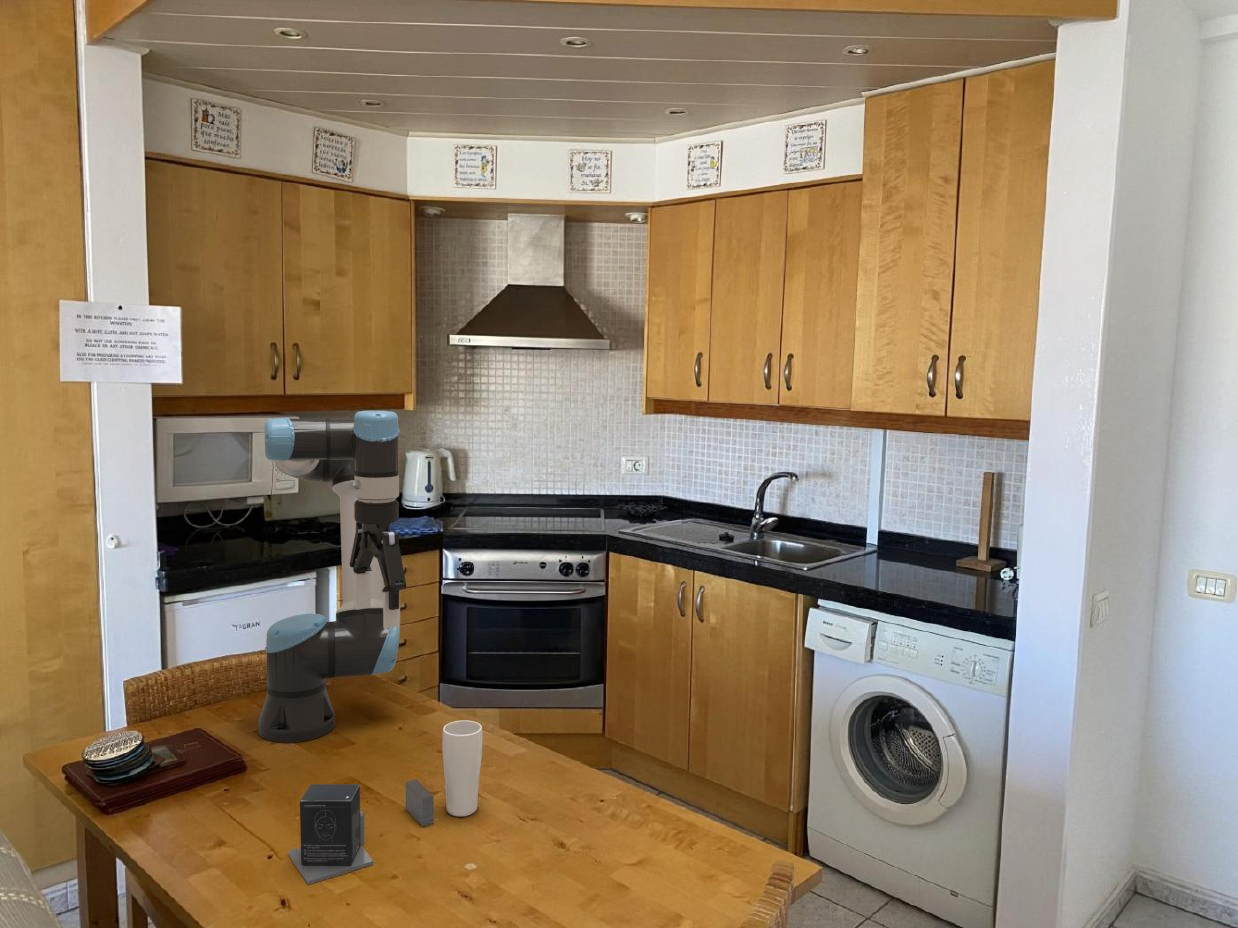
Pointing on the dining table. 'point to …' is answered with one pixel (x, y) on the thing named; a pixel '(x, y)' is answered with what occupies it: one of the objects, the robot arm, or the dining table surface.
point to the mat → (328, 866)
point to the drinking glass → (462, 766)
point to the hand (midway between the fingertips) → (376, 617)
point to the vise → (414, 805)
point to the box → (330, 824)
